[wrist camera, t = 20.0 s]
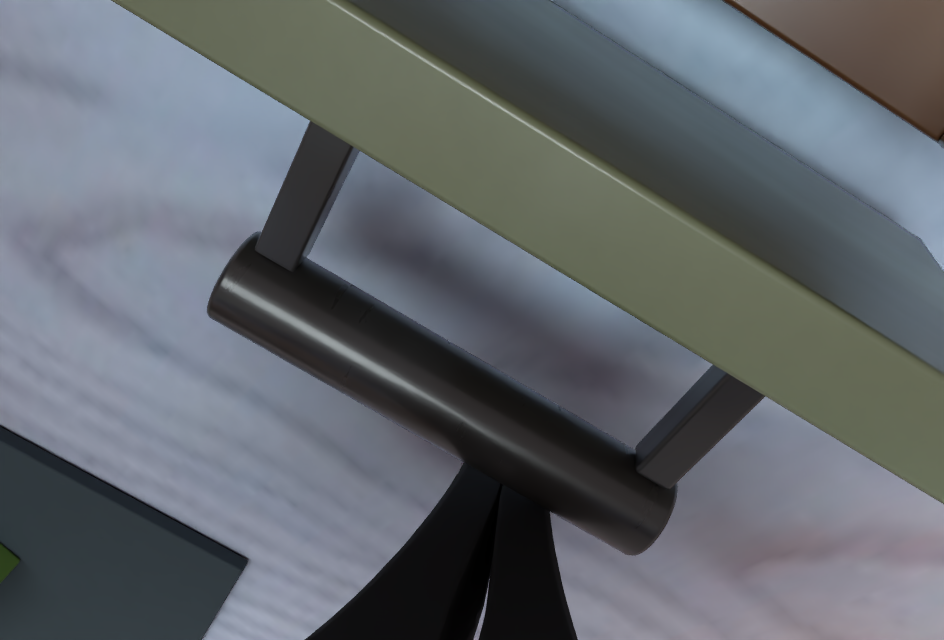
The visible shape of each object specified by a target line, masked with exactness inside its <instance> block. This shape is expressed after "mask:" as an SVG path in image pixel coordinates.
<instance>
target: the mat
mask: <svg viewBox="0 0 944 640" xmlns="http://www.w3.org/2000/svg"><path fill="white" fill-rule="evenodd" d="M0 543H1V544H2V545H3V546H4V547H6V548H7V549H8V550H9V551H11V552H12V553H13V554H14V555H16V556H17V557H18V558H19V559H20V561H19V563H18V564H17V566H16V567H15V568H14V569H13V570H12V571H11V572H10V573H9V574H8V576H7V577H6V578H5V579H4V580H3V581H2V582H1V583H0V640H202V638H203V636H204V635H205V633H206V631H207V630H208V628H209V626H210V625H211V623H212V621H213V619H214V618H215V616H216V614H217V613H218V611H219V609H220V608H221V606H222V604H223V603H224V601H225V599H226V598H227V596H228V594H229V593H230V591H231V589H232V588H233V586H234V584H235V583H236V581H237V579H238V578H239V576H240V574H241V573H242V571H243V569H244V568H245V566H246V564H247V562H248V560H246V559H245V558H243V557H241V556H239V555H237V554H235V553H233V552H232V551H230V550H228V549H226V548H224V547H222V546H220V545H219V544H217V543H215V542H213V541H211V540H209V539H207V538H206V537H204V536H202V535H200V534H198V533H196V532H194V531H193V530H191V529H189V528H187V527H185V526H183V525H181V524H180V523H178V522H176V521H174V520H172V519H170V518H168V517H167V516H165V515H163V514H161V513H159V512H157V511H155V510H154V509H152V508H150V507H148V506H146V505H144V504H142V503H141V502H139V501H137V500H135V499H133V498H131V497H129V496H128V495H126V494H124V493H122V492H120V491H118V490H116V489H115V488H113V487H111V486H109V485H107V484H105V483H103V482H102V481H100V480H98V479H96V478H94V477H92V476H90V475H89V474H87V473H85V472H83V471H81V470H79V469H77V468H76V467H74V466H72V465H70V464H68V463H66V462H64V461H63V460H61V459H59V458H57V457H55V456H53V455H51V454H50V453H48V452H46V451H44V450H42V449H40V448H38V447H37V446H35V445H33V444H31V443H29V442H27V441H26V440H24V439H22V438H20V437H18V436H16V435H14V434H13V433H11V432H9V431H7V430H5V429H3V428H1V427H0Z"/></svg>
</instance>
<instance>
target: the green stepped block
mask: <svg viewBox="0 0 944 640" xmlns="http://www.w3.org/2000/svg"><path fill="white" fill-rule="evenodd" d="M19 561H20V559H19V558H18V557H17V556H16V555H14V554H13V553H12V552H11V551H9V550H8V549H7V548H6V547H4V546H3V545H2V544H1V543H0V583H1V582H2V581H3V580H4V579H5V578H6V577H7V576H8V574H9V573H10V572H11V571H12V570H13V569H14V568H15V567H16V566H17V564H18V563H19Z"/></svg>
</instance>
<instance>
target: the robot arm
mask: <svg viewBox="0 0 944 640" xmlns="http://www.w3.org/2000/svg"><path fill="white" fill-rule="evenodd" d="M489 579H490V581H489ZM488 583H489V589H488V597H487V605H486V613H485V617H484V621H483V625H482V629H481V633H480V637H479V640H578V639H577V636H576V632H575V629H574V626H573V622H572V619H571V615H570V612H569V608H568V605H567V601H566V597H565V593H564V589H563V585H562V581H561V576H560V572H559V567H558V562H557V557H556V553H555V547H554V541H553V534H552V527H551V519H550V511H548V510H547V509H545V508H543V507H541V506H540V505H538V504H536V503H534V502H533V501H531V500H529V499H527V498H526V497H524V496H522V495H520V494H519V493H517V492H515V491H513V490H512V489H510V488H508V487H506V486H505V485H503V484H501V483H499V482H497V481H496V480H494V479H492V478H490V477H489V476H487V475H485V474H483V473H482V472H480V471H478V470H476V469H475V468H473V467H471V466H469V465H468V464H466V463H463V465H462V467H461V469H460V471H459V472H458V474H457V476H456V477H455V479H454V480H453V482H452V484H451V485H450V487H449V488H448V489H447V491H446V492H445V494H444V495H443V497H442V498H441V499H440V501H439V502H438V503H437V505H436V506H435V507H434V509H433V510H432V512H431V513H430V514H429V515H428V517H427V518H426V519H425V520H424V521H423V523H422V524H421V525H420V526H419V528H418V529H417V530H416V531H415V533H414V534H413V535H412V536H411V537H410V539H409V540H408V541H407V542H406V543H405V545H404V546H403V547H402V548H401V549H400V550H399V551H398V552H397V553H396V554H395V556H394V557H393V558H392V559H391V560H390V561H389V562H388V563H387V564H386V565H385V566H384V567H383V568H382V570H381V571H380V572H379V573H378V574H377V575H376V576H375V577H374V578H373V579H372V580H371V581H370V582H369V583H368V584H367V585H366V586H365V587H364V588H363V589H362V590H361V591H360V592H359V593H358V594H357V595H356V596H355V597H354V598H353V599H352V600H351V601H349V602H348V603H347V604H346V605H345V606H344V607H343V608H342V609H341V610H339V611H338V612H337V613H336V614H335V615H334V616H333V617H332V618H331V619H329V620H328V621H327V622H326V623H325V624H323V625H322V626H321V627H320V628H319V629H317V630H316V631H315V632H314V633H312V634H311V635H310V636H309V637H308V638H306V639H305V640H473V638H474V635H475V632H476V629H477V626H478V623H479V620H480V616H481V613H482V610H483V607H484V602H485V597H486V593H487V588H488Z"/></svg>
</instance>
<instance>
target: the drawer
mask: <svg viewBox="0 0 944 640" xmlns="http://www.w3.org/2000/svg"><path fill="white" fill-rule="evenodd" d="M112 1H113V2H115V3H116V4H118V5H120V6H121V7H123V8H125V9H126V10H128V11H130V12H131V13H133V14H135V15H136V16H138V17H140V18H141V19H143V20H145V21H146V22H148V23H150V24H151V25H153V26H154V27H156V28H158V29H159V30H161V31H163V32H164V33H166V34H168V35H169V36H171V37H173V38H174V39H176V40H178V41H179V42H181V43H183V44H184V45H186V46H188V47H189V48H191V49H192V50H194V51H196V52H197V53H199V54H201V55H202V56H204V57H206V58H207V59H209V60H211V61H212V62H214V63H216V64H217V65H219V66H221V67H222V68H224V69H226V70H227V71H229V72H230V73H232V74H234V75H235V76H237V77H239V78H240V79H242V80H244V81H245V82H247V83H249V84H250V85H252V86H254V87H255V88H257V89H259V90H260V91H262V92H264V93H265V94H267V95H269V96H270V97H272V98H273V99H275V100H277V101H278V102H280V103H282V104H283V105H285V106H287V107H288V108H290V109H292V110H293V111H295V112H297V113H298V114H300V115H302V116H303V117H305V118H307V119H308V120H310V123H309V125H308V127H307V129H306V132H305V134H304V136H303V139H302V141H301V143H300V145H299V148H298V150H297V152H296V155H295V157H294V159H293V161H292V164H291V166H290V168H289V171H288V173H287V175H286V178H285V180H284V182H283V184H282V187H281V189H280V191H279V194H278V196H277V198H276V200H275V203H274V205H273V207H272V210H271V212H270V214H269V216H268V219H267V221H266V223H265V226H264V228H263V230H262V232H255V233H254V234H252V235H251V236H250V237H249V238H247V239H246V240H245V241H244V242H243V243H242V245H241V246H240V247H239V248H238V249H237V251H236V252H235V253H234V255H233V256H232V257H231V259H230V260H229V262H228V263H227V265H226V267H225V268H224V270H223V271H222V273H221V275H220V277H219V278H218V280H217V282H216V284H215V286H214V288H213V291H212V293H211V295H210V298H209V301H208V306H207V314H208V316H209V317H210V318H211V319H213V320H215V321H217V322H218V323H220V324H222V325H224V326H225V327H227V328H229V329H231V330H232V331H234V332H236V333H238V334H239V335H241V336H243V337H245V338H246V339H248V340H250V341H252V342H253V343H255V344H257V345H259V346H260V347H262V348H264V349H266V350H267V351H269V352H271V353H273V354H274V355H276V356H278V357H280V358H282V359H283V360H285V361H287V362H289V363H290V364H292V365H294V366H296V367H297V368H299V369H301V370H303V371H304V372H306V373H308V374H310V375H311V376H313V377H315V378H317V379H318V380H320V381H322V382H324V383H325V384H327V385H329V386H331V387H332V388H334V389H336V390H338V391H339V392H341V393H343V394H345V395H346V396H348V397H350V398H352V399H354V400H355V401H357V402H359V403H361V404H362V405H364V406H366V407H368V408H369V409H371V410H373V411H375V412H376V413H378V414H380V415H382V416H383V417H385V418H387V419H389V420H390V421H392V422H394V423H396V424H397V425H399V426H401V427H403V428H404V429H406V430H408V431H410V432H411V433H413V434H415V435H417V436H418V437H420V438H422V439H424V440H425V441H427V442H429V443H431V444H433V445H434V446H436V447H438V448H440V449H441V450H443V451H445V452H447V453H448V454H450V455H452V456H454V457H455V458H457V459H459V460H461V461H462V462H464V463H466V464H468V465H469V466H471V467H473V468H475V469H476V470H478V471H480V472H482V473H483V474H485V475H487V476H489V477H490V478H492V479H494V480H496V481H497V482H499V483H501V484H503V485H505V486H506V487H508V488H510V489H512V490H513V491H515V492H517V493H519V494H520V495H522V496H524V497H526V498H527V499H529V500H531V501H533V502H534V503H536V504H538V505H540V506H541V507H543V508H545V509H547V510H548V511H550V512H552V513H554V514H555V515H557V516H559V517H561V518H562V519H564V520H566V521H568V522H569V523H571V524H573V525H575V526H577V527H578V528H580V529H582V530H584V531H585V532H587V533H589V534H591V535H592V536H594V537H596V538H598V539H599V540H601V541H603V542H605V543H606V544H608V545H610V546H612V547H613V548H615V549H617V550H619V551H620V552H622V553H624V554H626V555H632V556H633V555H638V554H640V553H642V552H644V551H645V550H646V549H648V548H649V547H650V546H651V545H652V544H653V543H654V541H655V540H656V539H657V538H658V536H659V535H660V534H661V532H662V531H663V529H664V527H665V526H666V524H667V522H668V520H669V518H670V516H671V513H672V511H673V508H674V505H675V502H676V497H677V488H678V486H677V482H678V481H679V480H680V479H681V478H682V477H683V476H684V475H685V474H686V473H687V472H688V471H689V470H690V469H691V468H692V467H693V466H694V465H695V464H696V463H697V462H698V461H699V460H700V459H701V458H703V457H704V456H705V455H706V454H707V453H708V452H709V451H710V450H711V449H712V448H713V447H714V446H715V445H716V444H717V443H718V442H719V441H720V440H721V439H722V438H723V437H724V436H725V435H726V434H727V433H728V432H729V431H730V430H731V429H732V428H733V427H734V426H735V425H736V424H737V423H739V422H740V421H741V420H742V419H743V418H744V417H745V416H746V415H747V414H748V413H749V412H750V411H751V410H752V409H753V408H754V407H755V406H756V405H757V404H758V403H759V402H760V401H761V400H762V399H763V398H764V397H765V396H766V397H768V398H769V399H771V400H773V401H774V402H776V403H778V404H779V405H781V406H782V407H784V408H786V409H787V410H789V411H791V412H792V413H794V414H796V415H797V416H799V417H801V418H802V419H804V420H806V421H807V422H809V423H811V424H812V425H814V426H816V427H817V428H819V429H820V430H822V431H824V432H825V433H827V434H829V435H830V436H832V437H834V438H835V439H837V440H839V441H840V442H842V443H844V444H845V445H847V446H849V447H850V448H852V449H854V450H855V451H857V452H859V453H860V454H862V455H863V456H865V457H867V458H868V459H870V460H872V461H873V462H875V463H877V464H878V465H880V466H882V467H883V468H885V469H887V470H888V471H890V472H892V473H893V474H895V475H897V476H898V477H900V478H901V479H903V480H905V481H906V482H908V483H910V484H911V485H913V486H915V487H916V488H918V489H920V490H921V491H923V492H925V493H926V494H928V495H930V496H931V497H933V498H935V499H936V500H938V501H939V502H941V503H943V504H944V271H943V270H942V268H941V267H940V266H939V264H938V263H937V261H936V260H935V259H934V257H933V256H932V254H931V253H930V251H929V250H928V249H927V247H926V246H925V244H924V243H923V242H922V240H921V239H920V238H918V237H917V236H915V235H914V234H912V233H910V232H909V231H907V230H906V229H904V228H903V227H901V226H900V225H898V224H896V223H895V222H893V221H892V220H890V219H889V218H887V217H886V216H884V215H882V214H881V213H879V212H878V211H876V210H875V209H873V208H872V207H870V206H869V205H867V204H865V203H864V202H862V201H861V200H859V199H858V198H856V197H855V196H853V195H851V194H850V193H848V192H847V191H845V190H844V189H842V188H841V187H839V186H837V185H836V184H834V183H833V182H831V181H830V180H828V179H827V178H825V177H823V176H822V175H820V174H819V173H817V172H816V171H814V170H813V169H811V168H809V167H808V166H806V165H805V164H803V163H802V162H800V161H799V160H797V159H795V158H794V157H792V156H791V155H789V154H788V153H786V152H785V151H783V150H781V149H780V148H778V147H777V146H775V145H774V144H772V143H771V142H769V141H768V140H766V139H764V138H763V137H761V136H760V135H758V134H757V133H755V132H754V131H752V130H750V129H749V128H747V127H746V126H744V125H743V124H741V123H740V122H738V121H736V120H735V119H733V118H732V117H730V116H729V115H727V114H726V113H724V112H722V111H721V110H719V109H718V108H716V107H715V106H713V105H712V104H710V103H708V102H707V101H705V100H704V99H702V98H701V97H699V96H698V95H696V94H694V93H693V92H691V91H690V90H688V89H687V88H685V87H684V86H682V85H680V84H679V83H677V82H676V81H674V80H673V79H671V78H670V77H668V76H666V75H665V74H663V73H662V72H660V71H659V70H657V69H656V68H654V67H653V66H651V65H649V64H648V63H646V62H645V61H643V60H642V59H640V58H639V57H637V56H635V55H634V54H632V53H631V52H629V51H628V50H626V49H625V48H623V47H621V46H620V45H618V44H617V43H615V42H614V41H612V40H611V39H609V38H607V37H606V36H604V35H603V34H601V33H600V32H598V31H597V30H595V29H593V28H592V27H590V26H589V25H587V24H586V23H584V22H583V21H581V20H579V19H578V18H576V17H575V16H573V15H572V14H570V13H569V12H567V11H565V10H564V9H562V8H561V7H559V6H558V5H556V4H555V3H553V2H552V1H550V0H112ZM722 1H723V2H725V3H726V4H728V5H729V6H731V7H732V8H734V9H735V10H737V11H739V12H740V13H742V14H743V15H745V16H746V17H748V18H749V19H751V20H752V21H754V22H755V23H757V24H758V25H760V26H761V27H763V28H764V29H766V30H767V31H769V32H770V33H772V34H773V35H775V36H776V37H778V38H779V39H781V40H782V41H784V42H785V43H787V44H789V45H790V46H792V47H793V48H795V49H796V50H798V51H799V52H801V53H802V54H804V55H805V56H807V57H808V58H810V59H811V60H813V61H814V62H816V63H817V64H819V65H820V66H822V67H823V68H825V69H826V70H828V71H829V72H831V73H832V74H834V75H835V76H837V77H839V78H840V79H842V80H843V81H845V82H846V83H848V84H849V85H851V86H852V87H854V88H855V89H857V90H858V91H860V92H861V93H863V94H864V95H866V96H867V97H869V98H870V99H872V100H873V101H875V102H876V103H878V104H879V105H881V106H882V107H884V108H885V109H887V110H889V111H890V112H892V113H893V114H895V115H896V116H898V117H899V118H901V119H902V120H904V121H905V122H907V123H908V124H910V125H911V126H913V127H914V128H916V129H917V130H919V131H920V132H922V133H923V134H925V135H926V136H928V137H929V138H931V139H932V140H934V141H935V142H937V143H939V144H940V145H941V147H942V148H943V149H944V0H722ZM359 151H361V152H363V153H364V154H366V155H368V156H369V157H371V158H373V159H374V160H376V161H378V162H379V163H381V164H383V165H384V166H386V167H387V168H389V169H391V170H392V171H394V172H396V173H397V174H399V175H401V176H402V177H404V178H406V179H407V180H409V181H411V182H412V183H414V184H416V185H417V186H419V187H421V188H422V189H424V190H426V191H427V192H429V193H430V194H432V195H434V196H435V197H437V198H439V199H440V200H442V201H444V202H445V203H447V204H449V205H450V206H452V207H454V208H455V209H457V210H459V211H460V212H462V213H464V214H465V215H467V216H468V217H470V218H472V219H473V220H475V221H477V222H478V223H480V224H482V225H483V226H485V227H487V228H488V229H490V230H492V231H493V232H495V233H497V234H498V235H500V236H502V237H503V238H505V239H506V240H508V241H510V242H511V243H513V244H515V245H516V246H518V247H520V248H521V249H523V250H525V251H526V252H528V253H530V254H531V255H533V256H535V257H536V258H538V259H540V260H541V261H543V262H545V263H546V264H548V265H549V266H551V267H553V268H554V269H556V270H558V271H559V272H561V273H563V274H564V275H566V276H568V277H569V278H571V279H573V280H574V281H576V282H578V283H579V284H581V285H583V286H584V287H586V288H587V289H589V290H591V291H592V292H594V293H596V294H597V295H599V296H601V297H602V298H604V299H606V300H607V301H609V302H611V303H612V304H614V305H616V306H617V307H619V308H621V309H622V310H624V311H625V312H627V313H629V314H630V315H632V316H634V317H635V318H637V319H639V320H640V321H642V322H644V323H645V324H647V325H649V326H650V327H652V328H654V329H655V330H657V331H659V332H660V333H662V334H663V335H665V336H667V337H668V338H670V339H672V340H673V341H675V342H677V343H678V344H680V345H682V346H683V347H685V348H687V349H688V350H690V351H692V352H693V353H695V354H697V355H698V356H700V357H702V358H703V359H705V360H706V361H708V362H710V363H711V364H713V365H712V366H711V367H710V368H709V369H708V370H707V371H706V373H705V374H704V375H703V376H702V377H701V378H700V379H699V380H698V381H697V382H696V383H695V384H694V385H693V386H692V387H691V388H690V389H689V391H688V392H687V393H686V394H685V395H684V396H683V397H682V398H681V399H680V400H679V401H678V402H677V403H676V404H675V405H674V406H673V407H672V409H671V410H670V411H669V412H668V413H667V414H666V415H665V416H664V417H663V418H662V419H661V420H660V421H659V422H658V423H657V424H656V425H655V427H654V428H653V429H652V430H651V431H650V432H649V433H648V434H647V435H646V436H645V437H644V438H643V439H642V440H641V441H640V442H639V444H638V445H637V446H636V450H634V449H632V448H631V447H629V446H627V445H626V444H624V443H622V442H620V441H619V440H617V439H615V438H614V437H612V436H610V435H608V434H607V433H605V432H603V431H602V430H600V429H598V428H597V427H595V426H593V425H591V424H590V423H588V422H586V421H585V420H583V419H581V418H579V417H578V416H576V415H574V414H573V413H571V412H569V411H568V410H566V409H564V408H562V407H561V406H559V405H557V404H556V403H554V402H552V401H550V400H549V399H547V398H545V397H544V396H542V395H540V394H538V393H537V392H535V391H533V390H532V389H530V388H528V387H527V386H525V385H523V384H521V383H520V382H518V381H516V380H515V379H513V378H511V377H509V376H508V375H506V374H504V373H503V372H501V371H499V370H497V369H496V368H494V367H492V366H491V365H489V364H487V363H486V362H484V361H482V360H480V359H479V358H477V357H475V356H474V355H472V354H470V353H468V352H467V351H465V350H463V349H462V348H460V347H458V346H457V345H455V344H453V343H451V342H450V341H448V340H446V339H445V338H443V337H441V336H439V335H438V334H436V333H434V332H433V331H431V330H429V329H427V328H426V327H424V326H422V325H421V324H419V323H417V322H416V321H414V320H412V319H410V318H409V317H407V316H405V315H404V314H402V313H400V312H398V311H397V310H395V309H393V308H392V307H390V306H388V305H387V304H385V303H383V302H381V301H380V300H378V299H376V298H375V297H373V296H371V295H369V294H368V293H366V292H364V291H363V290H361V289H359V288H357V287H356V286H354V285H352V284H351V283H349V282H347V281H346V280H344V279H342V278H340V277H339V276H337V275H335V274H334V273H332V272H330V271H328V270H327V269H325V268H323V267H322V266H320V265H318V264H316V263H315V262H313V261H311V260H310V259H308V258H306V257H307V256H308V255H309V253H310V251H311V249H312V247H313V245H314V243H315V241H316V239H317V237H318V235H319V233H320V231H321V229H322V227H323V225H324V223H325V221H326V219H327V216H328V214H329V212H330V210H331V208H332V206H333V204H334V202H335V200H336V198H337V196H338V194H339V192H340V190H341V188H342V186H343V184H344V182H345V180H346V178H347V175H348V173H349V171H350V169H351V167H352V165H353V163H354V161H355V159H356V157H357V155H358V153H359Z"/></svg>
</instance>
